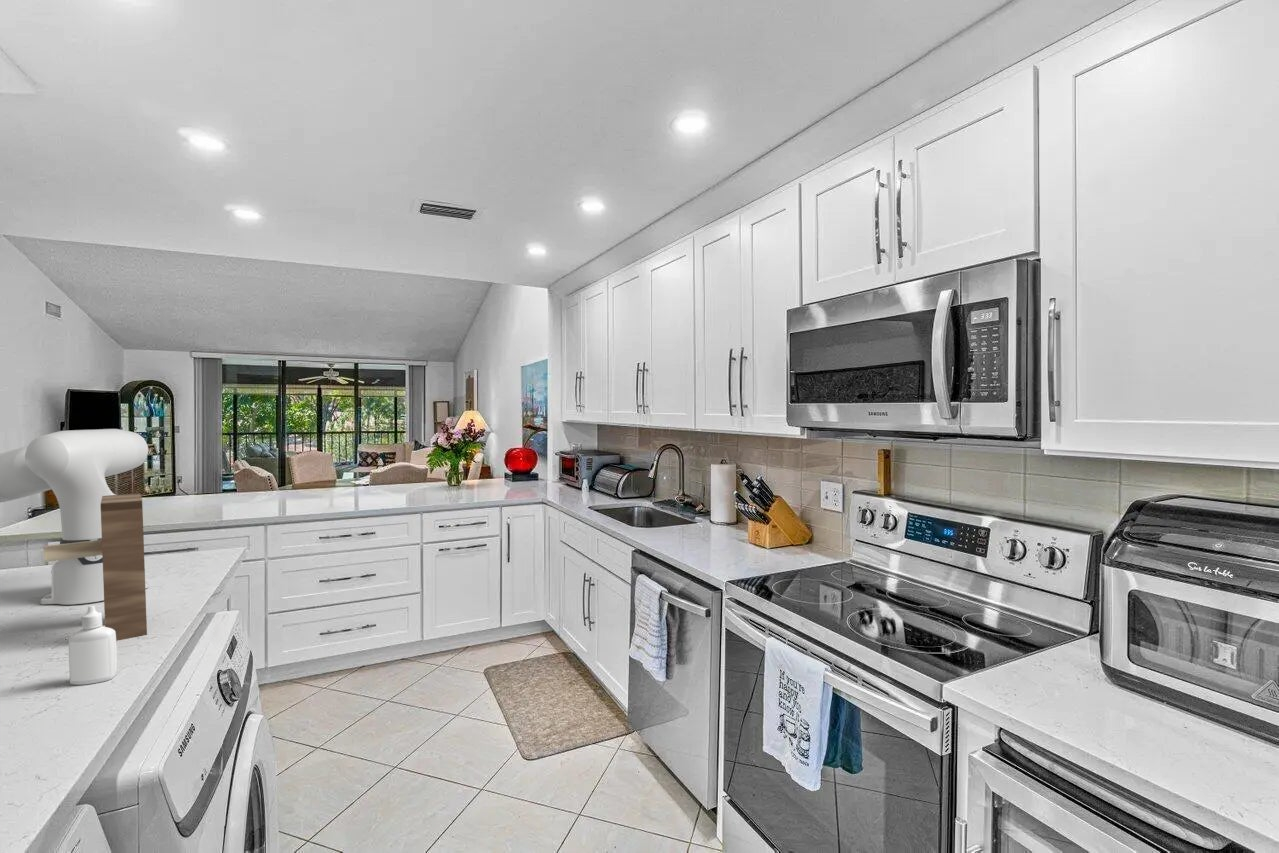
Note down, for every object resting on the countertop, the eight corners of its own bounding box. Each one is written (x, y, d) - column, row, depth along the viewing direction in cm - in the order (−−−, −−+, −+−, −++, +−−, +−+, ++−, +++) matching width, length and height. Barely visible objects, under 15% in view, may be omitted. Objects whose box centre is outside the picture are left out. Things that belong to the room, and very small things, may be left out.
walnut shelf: (106, 622, 124) (102, 496, 124) (144, 616, 128) (140, 493, 127) (105, 642, 114) (100, 503, 113) (146, 634, 118) (142, 500, 117)
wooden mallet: (46, 556, 116) (45, 535, 116) (141, 545, 125) (140, 526, 125) (42, 564, 110) (41, 542, 110) (142, 552, 119) (141, 531, 119)
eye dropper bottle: (93, 687, 95) (90, 611, 95) (65, 684, 96) (62, 609, 96) (122, 675, 99) (119, 602, 99) (94, 672, 100) (92, 600, 100)
